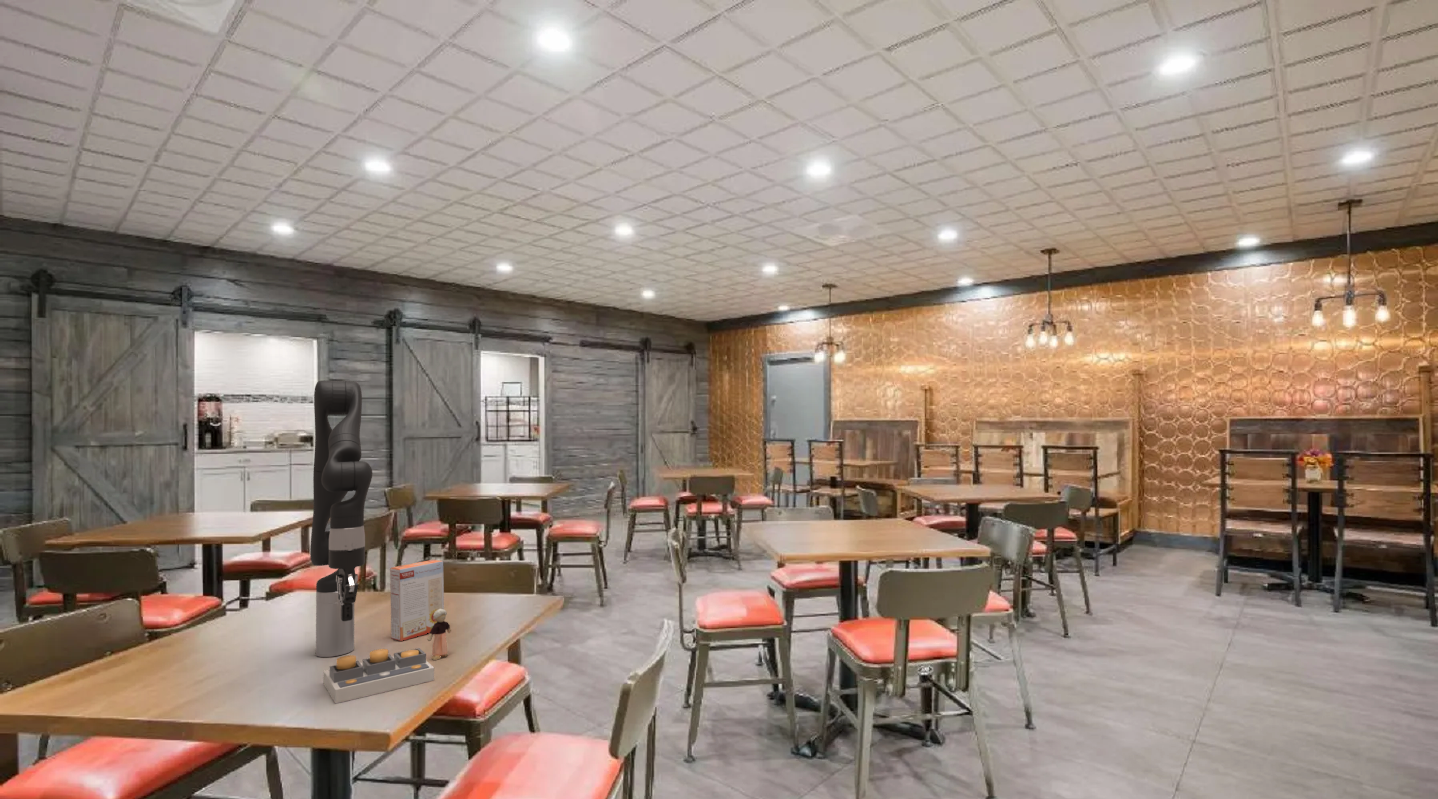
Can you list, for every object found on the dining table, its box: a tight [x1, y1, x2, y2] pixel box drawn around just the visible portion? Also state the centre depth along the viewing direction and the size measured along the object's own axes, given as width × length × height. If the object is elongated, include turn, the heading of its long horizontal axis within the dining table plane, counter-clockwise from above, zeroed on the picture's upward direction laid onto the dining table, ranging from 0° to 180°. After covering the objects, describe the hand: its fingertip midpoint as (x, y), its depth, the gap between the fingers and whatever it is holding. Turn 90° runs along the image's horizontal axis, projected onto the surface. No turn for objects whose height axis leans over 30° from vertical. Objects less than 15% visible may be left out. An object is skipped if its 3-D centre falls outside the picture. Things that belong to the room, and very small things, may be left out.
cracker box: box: [389, 559, 445, 642], centre depth 201 cm, size 14×6×21 cm, turn 144°
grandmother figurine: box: [426, 608, 452, 661], centre depth 180 cm, size 8×4×13 cm, turn 168°
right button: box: [401, 649, 419, 658], centre depth 167 cm, size 4×4×2 cm
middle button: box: [369, 648, 389, 663], centre depth 162 cm, size 4×4×2 cm
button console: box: [322, 647, 435, 704], centre depth 162 cm, size 16×21×5 cm
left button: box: [336, 654, 357, 670], centre depth 158 cm, size 4×4×2 cm
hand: (346, 620), depth 158 cm, fingers closed
